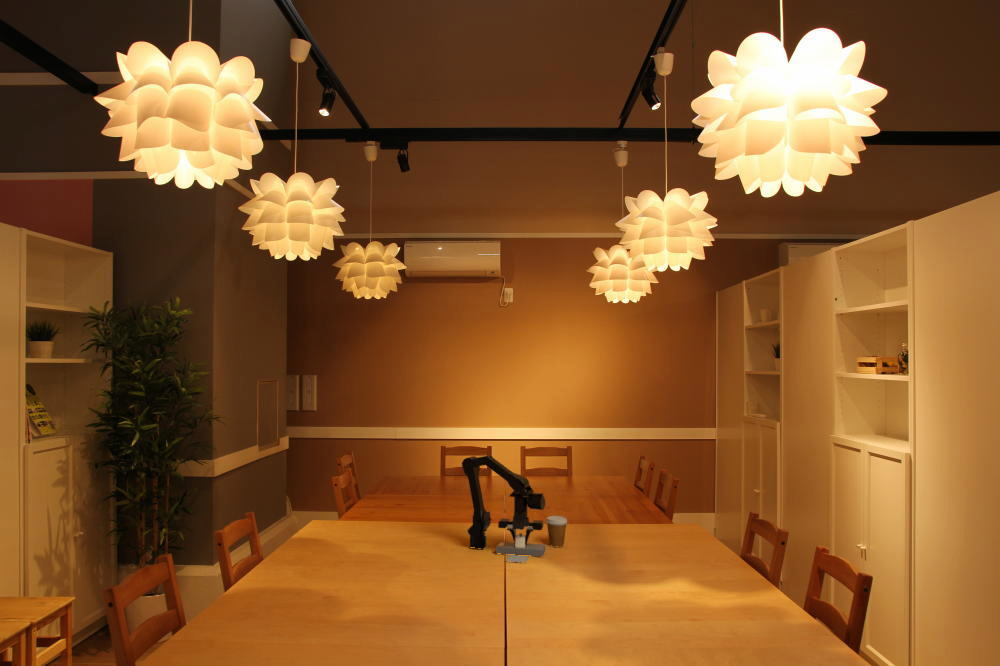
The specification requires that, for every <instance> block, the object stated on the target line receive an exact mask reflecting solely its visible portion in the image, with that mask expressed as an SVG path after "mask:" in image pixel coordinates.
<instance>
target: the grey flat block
mask: <svg viewBox="0 0 1000 666" xmlns="http://www.w3.org/2000/svg"><path fill="white" fill-rule="evenodd" d="M544 552H545V553H546V544H540V543H539V544H538V543H527V544H526V548H518V547H515V543H514V542H505V541H499V542H498V543H497V545H496V547H495V554H496V553H501V554H515V555H531V556H543V555H544V556H545V553H544ZM544 556H543V557H544Z"/></svg>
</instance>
